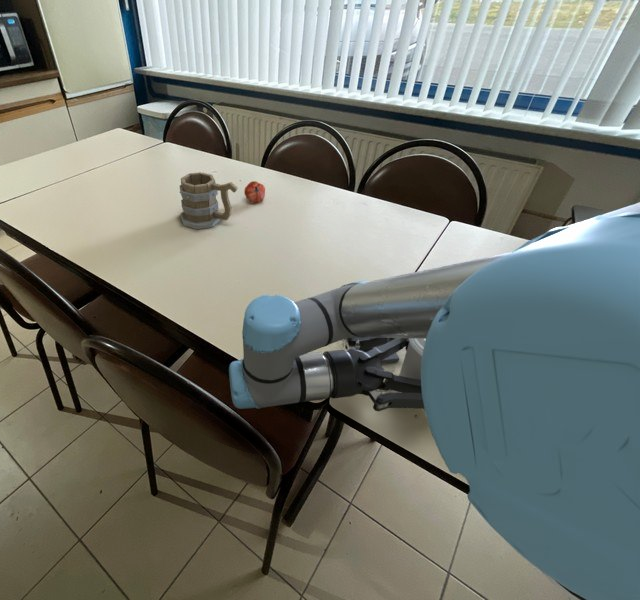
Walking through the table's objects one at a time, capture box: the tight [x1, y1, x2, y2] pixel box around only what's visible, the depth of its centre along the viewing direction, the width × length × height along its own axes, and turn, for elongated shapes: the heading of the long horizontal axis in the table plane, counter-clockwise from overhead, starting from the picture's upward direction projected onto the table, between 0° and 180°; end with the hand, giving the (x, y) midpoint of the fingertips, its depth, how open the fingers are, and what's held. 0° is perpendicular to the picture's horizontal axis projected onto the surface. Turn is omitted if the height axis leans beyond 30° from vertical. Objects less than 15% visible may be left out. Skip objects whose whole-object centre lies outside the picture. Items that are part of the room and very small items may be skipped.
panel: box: [359, 345, 400, 365], centre depth 79 cm, size 10×8×3 cm
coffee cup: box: [396, 338, 426, 392], centre depth 61 cm, size 10×10×15 cm
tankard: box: [179, 171, 239, 230], centre depth 116 cm, size 20×13×15 cm, turn 60°
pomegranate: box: [243, 180, 266, 204], centre depth 130 cm, size 7×7×10 cm
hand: (457, 360), depth 61 cm, fingers closed on coffee cup, 8 cm apart
